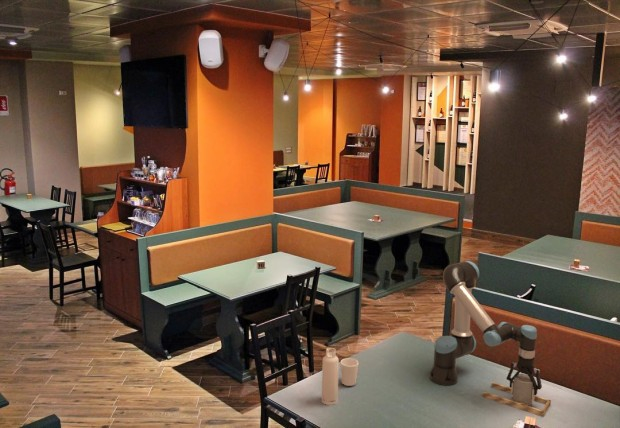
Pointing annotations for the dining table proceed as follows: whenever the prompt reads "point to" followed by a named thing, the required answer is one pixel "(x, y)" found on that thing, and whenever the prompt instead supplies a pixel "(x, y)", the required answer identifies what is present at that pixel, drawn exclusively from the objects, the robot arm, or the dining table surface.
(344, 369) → the cup
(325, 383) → the bottle
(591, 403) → the dining table surface
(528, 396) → the speckled beige cylinder
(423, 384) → the dining table surface
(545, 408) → the beam frame
